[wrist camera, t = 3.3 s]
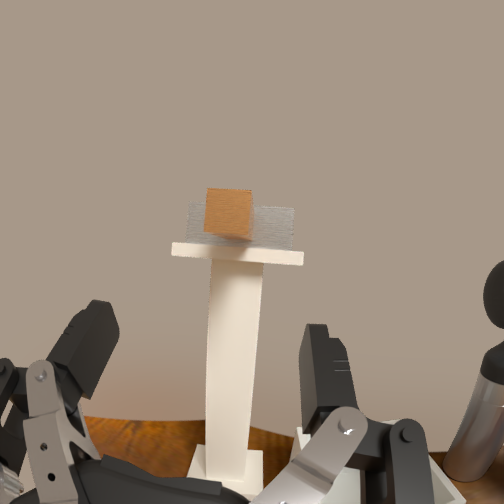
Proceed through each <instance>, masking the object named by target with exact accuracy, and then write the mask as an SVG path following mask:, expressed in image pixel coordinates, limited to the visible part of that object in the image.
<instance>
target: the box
mask: <svg viewBox="0 0 504 504" xmlns="http://www.w3.org/2000/svg"><path fill="white" fill-rule="evenodd" d="M399 420H400V419H396V420H389V421H382V423H387V424H392V425H394V424H395V423H396V422H397V421H399ZM310 439H311V437H310V434H302V427H297V428H296V433H295V438H294V443H293V447H292V452H291V457H290V461H289V463H290V462H291V461H292V460H293V459H294V458H295V457H296V456H297V455H298V454H299V452H300V451H301V450H302V449H303V448H304V446H305V445H306V444H307V443H308V442H309V440H310ZM429 461H430V467H431V474H432V482H433V491H434V501H435V504H465V503H466V500H465V499H464V498H463V496H462V495H461V494H460V493H459V491H458V490H457V489H456V488H455V486H454V485H453V484H452V483H451V481H450V480H449V479H448V478H447V476H446V475H445V474H444V473H443V471H442V470H441V469H440V468H439V466H438V465H437V464H436V463H435V461H434V460H433V459H432V458H431V456H430V455H429ZM319 504H360V470H358V469H352V468H347V467H343V469H342V470H341V472H340V473H339V474H338V476H337V477H336V479H335V480H334V482H333V486H332V487H331V489H330V490H329V492H328V493H327V494H326V496H325V497H324V498H323V499H322V501H321V502H320V503H319Z"/></svg>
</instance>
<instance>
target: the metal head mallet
mask: <svg viewBox="0 0 504 504" xmlns="http://www.w3.org/2000/svg"><path fill="white" fill-rule="evenodd" d="M293 224H294V208H282V207H271V206H256V205H253V198H252V191H251V190H235V189H216V188H207V198H206V202H189V208H188V218H187V230H186V243H188V244H202V245H216V246H229V247H243V248H256V249H270V250H283V251H292V239H293Z"/></svg>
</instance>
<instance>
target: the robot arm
mask: <svg viewBox="0 0 504 504" xmlns="http://www.w3.org/2000/svg"><path fill="white" fill-rule="evenodd" d="M483 300H484V306H485V310H486V313H487V316H488V317H489V319H490V320H491V322H492V323H493V324H494V325H496V326H497V327H499V328H502V329H504V261H501V262H500V263H498V264H497V265H496V266H495V267H494V268H493V270H492V271H491V272H490V274H489V276H488V278H487V280H486V283H485V287H484V293H483ZM118 339H119V326H118V323H117V321H116V317H115V315H114V312H113V308H112V306H111V304H110V303H109V302H105V301H99V300H92V301H91V302H90V304H89V305H88V306H87V308H86V309H85V310H81V311H80V312H79V313H78V314H76V315H75V316H74V317H73V318H72V320H71V321H70V323H69V324H68V327H66V329H65V330H64V333H63V334H62V335H61V336H60V338H59V340H58V341H57V343H56V344H55V346H54V347H53V349H52V350H51V352H50V354H49V355H48V357H47V358H46V360H38V361H36V362H34V363H32V364H31V365H30V366H29V368H20V367H15V366H14V365H13V363H12V362H11V361H10V360H9V359H7V358H2V359H0V419H1V416H2V413H3V411H4V409H5V407H6V405H7V402H8V400H10V401H11V402H12V403H13V406H12V408H11V410H10V413H9V415H8V417H7V420H6V422H5V425H4V427H2V426H1V422H0V504H319V503H320V502H321V501H322V499H323V498H324V497H325V496H326V494H327V493H328V492H329V490H330V489H331V487H332V486H333V482H334V480H335V479H336V477H337V476H338V474H339V473H340V472H341V470H342V469H343V467H347V468H352V469H358V470H360V504H435V501H434V491H433V482H432V474H431V467H430V461H429V454H428V449H427V443H426V438H425V433H424V430H423V428H422V427H421V425H420V424H419V423H418V422H416V421H414V420H412V419H402V420H399V421H397V422H396V423H395V424H394V425H392V424H387V423H382V422H376V421H373V420H370V419H368V418H367V417H365V415H364V414H363V413H362V412H361V411H360V410H359V408H358V406H357V401H356V396H355V391H354V385H353V380H352V375H351V371H350V366H349V362H348V357H347V352H346V348H345V346H344V345H343V344H342V342H341V341H340V340H339V338H329V333H328V328H327V325H326V324H307V325H306V328H305V332H304V336H303V340H302V343H301V347H300V352H299V371H300V388H301V389H300V391H301V409H302V410H301V411H302V434H310V437H311V439H310V440H309V442H308V443H307V444H306V445H305V446H304V448H303V449H302V450H301V451H300V452H299V454H298V455H297V456H296V457H295V458H294V459H293V460H292V461H291V462H290V463H289V464H288V465H287V466H286V467H285V468H284V469H283V470H282V471H281V472H280V473H279V474H278V475H277V476H276V477H275V478H274V479H273V480H272V482H271V483H270V484H269V485H268V486H267V487H266V488H265V489H264V490H262V491H261V492H260V493H259V494H258V495H257V496H256V497H255V498H254V499H253V500H252V501H251V502H250V501H249V500H248V499H247V498H245V497H244V496H243V495H241V494H239V493H237V492H236V491H233V490H231V489H229V488H226V487H223V486H222V482H219V481H211V480H204V479H198V478H192V477H180V478H159V477H155V476H153V475H151V474H149V473H147V472H145V471H144V470H142V469H140V468H138V467H136V466H135V465H133V464H131V463H129V462H126V461H123V460H120V459H117V458H114V457H111V456H108V455H105V454H104V455H103V458H102V459H101V457H100V455H99V453H98V451H97V450H96V448H95V447H94V445H93V443H92V441H91V439H90V436H89V433H88V430H87V426H86V423H85V420H84V416H83V412H82V409H81V405H80V403H79V400H80V398H81V397H84V398H87V399H89V400H90V399H91V397H92V395H93V392H94V390H95V388H96V386H97V384H98V381H99V379H100V377H101V375H102V373H103V371H104V368H105V366H106V364H107V362H108V360H109V358H110V356H111V354H112V352H113V350H114V348H115V346H116V344H117V342H118ZM503 443H504V341H503V342H502V343H500V344H499V345H497V346H495V347H493V348H491V349H490V350H488V351H487V353H486V354H485V356H484V358H483V361H482V365H481V369H480V372H479V375H478V379H477V382H476V385H475V388H474V391H473V394H472V397H471V400H470V402H469V405H468V408H467V410H466V413H465V415H464V418H463V420H462V422H461V425H460V427H459V430H458V432H457V434H456V436H455V438H454V440H453V442H452V445H451V446H450V448H449V450H448V452H447V454H446V456H445V458H444V460H443V470H444V471H445V473H446V474H447V475H448V476H449V477H451V478H452V479H454V480H457V481H461V482H471V481H475V480H477V479H479V478H481V477H482V476H483V475H484V474H485V473H486V471H487V469H488V468H489V467H490V466H491V464H492V463H493V461H494V459H495V458H496V456H497V454H498V452H499V451H500V449H501V447H502V445H503ZM26 451H27V452H28V457H29V462H30V466H31V470H32V474H33V478H34V482H35V485H36V488H34V489H32V490H30V491H28V492H26V493H25V494H23V495H20V493H22V492H23V491H24V486H23V484H22V483H21V482H20V481H19V478H18V477H19V473H20V470H21V467H22V463H23V460H24V457H25V454H26Z"/></svg>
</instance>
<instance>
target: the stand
mask: <svg viewBox="0 0 504 504" xmlns="http://www.w3.org/2000/svg"><path fill="white" fill-rule="evenodd" d="M172 255H173V256H185V257H199V258H210V259H212V265H211V281H210V297H209V316H208V318H209V319H208V340H207V369H206V445H200V444H197V447H196V450H195V453H194V456H193V459H192V463H191V466H190V469H189V472H188V475H187V477H192V478H198V479H204V480H211V481H219V482H222V486H223V487H226V488H229V489H231V490H233V491H236V492H237V493H239V494H241V495H243V496H244V497H245V498H247V499H248V500H249V501H252V500H253V499H254V498H255V497H256V496H257V495H258V494H259V493H260V492H261V491H262V490H263V451H259V450H247V446H248V436H249V426H250V415H251V404H252V394H253V393H252V392H253V383H254V371H255V361H256V348H257V337H258V326H259V325H258V324H259V314H260V301H261V289H262V275H263V263H276V264H289V265H303V257H304V252H296V251H283V250H270V249H256V248H243V247H229V246H216V245H202V244H188V243H174V242H173V243H172Z"/></svg>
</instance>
